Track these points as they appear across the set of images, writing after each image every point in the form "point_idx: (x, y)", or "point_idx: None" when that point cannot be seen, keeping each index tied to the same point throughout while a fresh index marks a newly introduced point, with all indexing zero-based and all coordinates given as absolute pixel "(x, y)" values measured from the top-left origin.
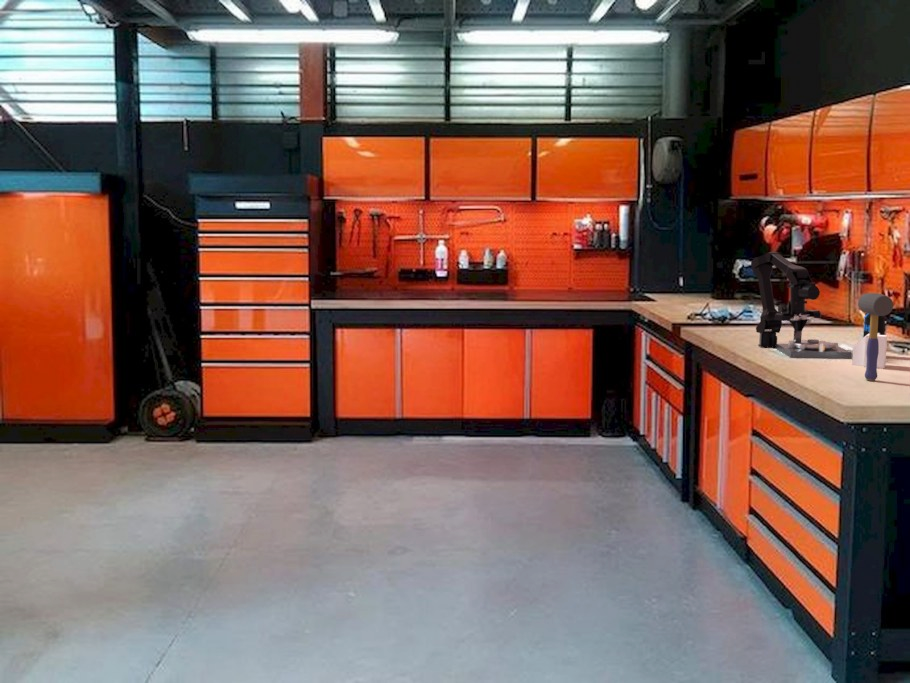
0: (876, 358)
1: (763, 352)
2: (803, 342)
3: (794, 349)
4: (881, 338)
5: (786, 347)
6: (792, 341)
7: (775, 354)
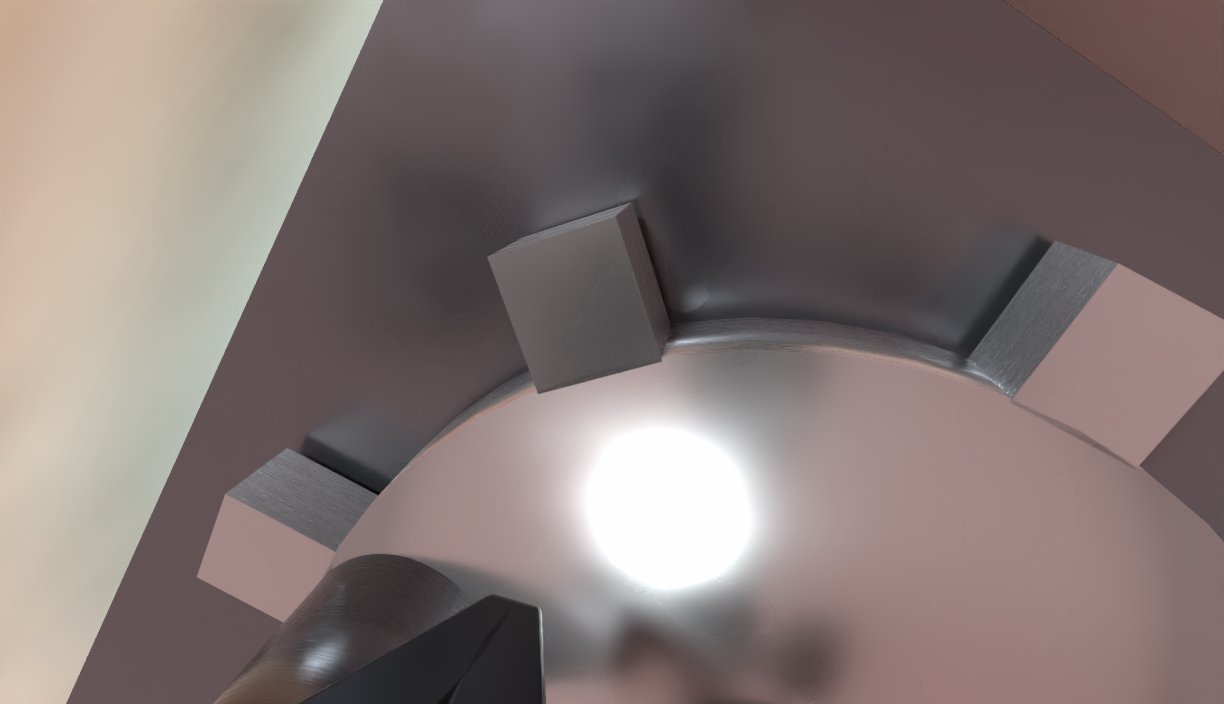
0: None
1: (18, 59)
2: (603, 664)
3: (228, 678)
4: None
5: (260, 431)
6: (527, 364)
7: (92, 365)
